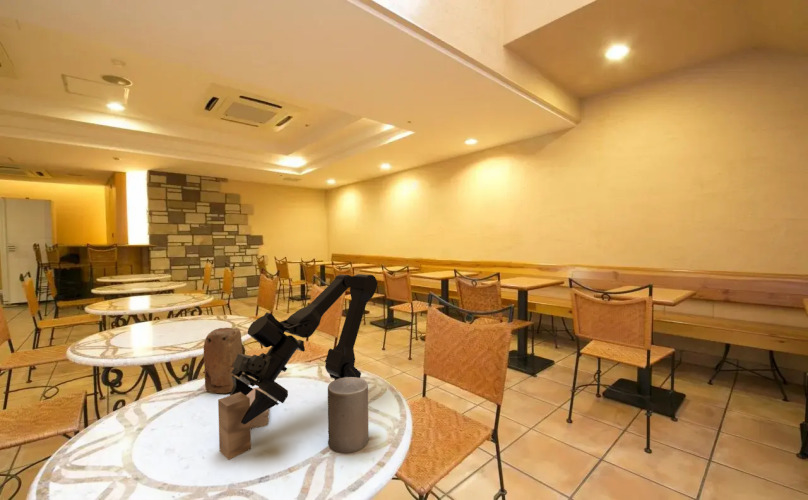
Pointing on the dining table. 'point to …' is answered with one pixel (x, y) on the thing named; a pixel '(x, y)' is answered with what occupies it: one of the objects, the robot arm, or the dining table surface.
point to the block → (221, 358)
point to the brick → (260, 419)
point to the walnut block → (233, 425)
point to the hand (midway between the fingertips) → (233, 416)
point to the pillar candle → (348, 414)
